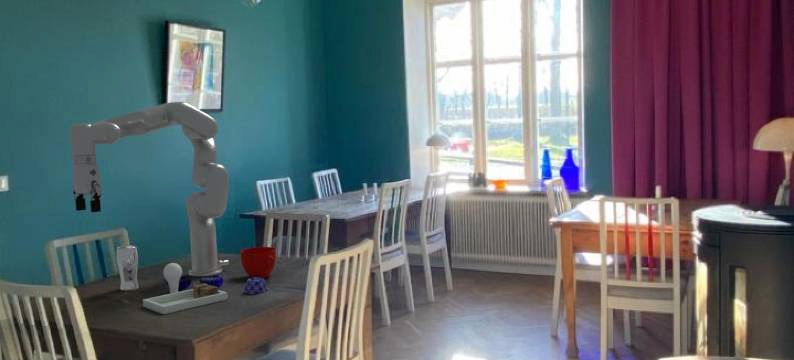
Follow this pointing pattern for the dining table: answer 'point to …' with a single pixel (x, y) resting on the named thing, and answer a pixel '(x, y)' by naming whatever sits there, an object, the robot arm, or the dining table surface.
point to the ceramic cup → (258, 261)
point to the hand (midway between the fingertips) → (88, 211)
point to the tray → (181, 301)
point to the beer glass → (127, 267)
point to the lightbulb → (173, 276)
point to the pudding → (255, 286)
